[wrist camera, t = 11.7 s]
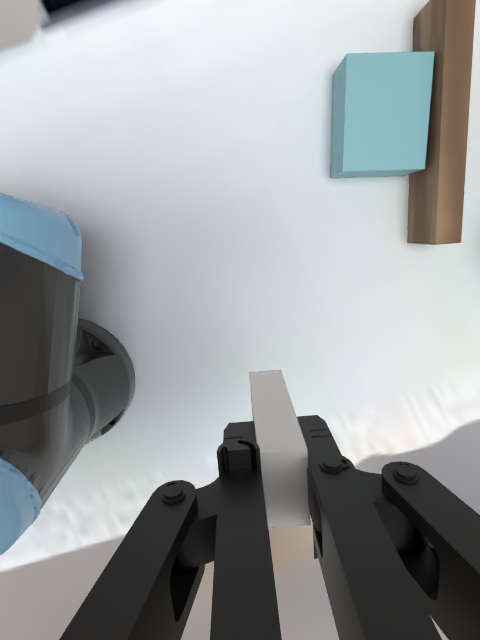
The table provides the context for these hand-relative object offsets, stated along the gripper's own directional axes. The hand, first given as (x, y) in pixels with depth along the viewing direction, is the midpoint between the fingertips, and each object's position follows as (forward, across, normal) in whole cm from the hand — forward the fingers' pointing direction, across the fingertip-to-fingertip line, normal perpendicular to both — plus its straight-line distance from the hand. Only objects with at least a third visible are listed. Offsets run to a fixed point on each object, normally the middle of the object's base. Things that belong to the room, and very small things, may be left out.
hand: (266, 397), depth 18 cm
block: (+27, +14, +17) cm, 35 cm away
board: (+26, +20, +16) cm, 37 cm away
